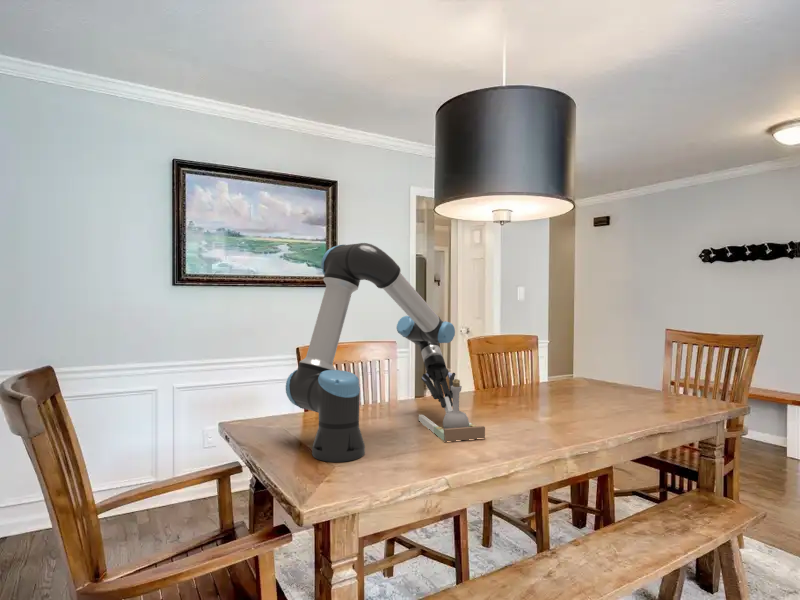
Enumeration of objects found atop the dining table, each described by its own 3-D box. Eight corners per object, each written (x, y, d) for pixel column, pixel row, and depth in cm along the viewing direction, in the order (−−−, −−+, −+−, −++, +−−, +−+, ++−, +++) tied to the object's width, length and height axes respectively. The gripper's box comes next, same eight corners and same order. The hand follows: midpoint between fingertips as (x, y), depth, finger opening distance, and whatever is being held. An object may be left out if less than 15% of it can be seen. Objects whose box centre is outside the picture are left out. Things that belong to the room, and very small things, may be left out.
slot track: (485, 439, 155) (485, 426, 155) (444, 442, 151) (444, 429, 151) (453, 418, 180) (454, 408, 180) (418, 421, 176) (418, 410, 176)
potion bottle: (470, 431, 164) (470, 378, 164) (467, 438, 155) (467, 383, 155) (444, 429, 166) (445, 377, 166) (440, 436, 158) (440, 381, 157)
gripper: (419, 354, 177) (435, 410, 161) (452, 353, 180) (471, 407, 165) (414, 366, 182) (429, 422, 166) (447, 365, 185) (464, 419, 170)
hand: (450, 415), depth 165 cm, fingers closed
